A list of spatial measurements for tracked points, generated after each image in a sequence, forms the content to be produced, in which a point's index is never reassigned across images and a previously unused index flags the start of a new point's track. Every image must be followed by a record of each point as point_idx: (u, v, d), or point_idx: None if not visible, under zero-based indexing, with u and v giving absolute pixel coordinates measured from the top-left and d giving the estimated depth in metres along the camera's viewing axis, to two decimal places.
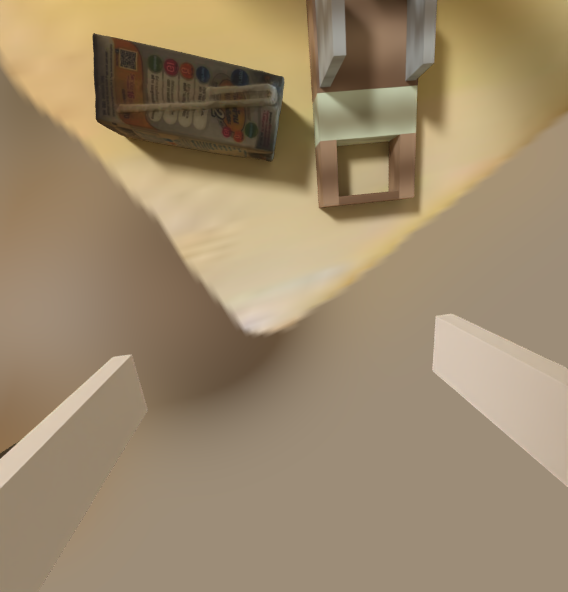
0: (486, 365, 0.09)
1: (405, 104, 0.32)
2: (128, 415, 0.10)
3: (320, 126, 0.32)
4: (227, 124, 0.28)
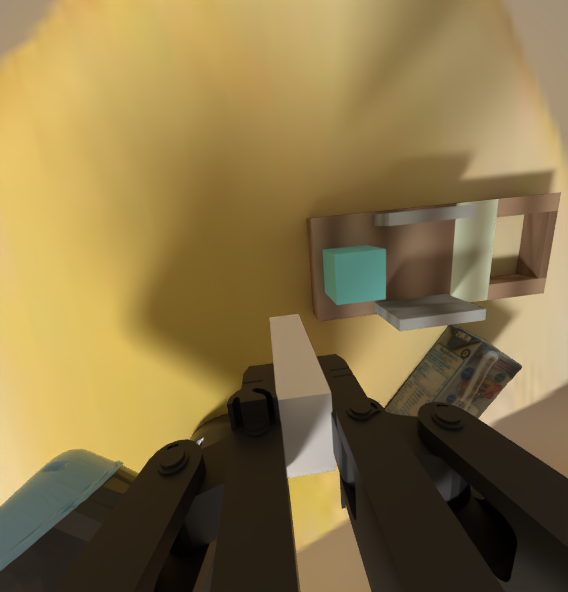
0: None
1: None
2: None
3: (475, 300, 0.33)
4: (485, 392, 0.34)
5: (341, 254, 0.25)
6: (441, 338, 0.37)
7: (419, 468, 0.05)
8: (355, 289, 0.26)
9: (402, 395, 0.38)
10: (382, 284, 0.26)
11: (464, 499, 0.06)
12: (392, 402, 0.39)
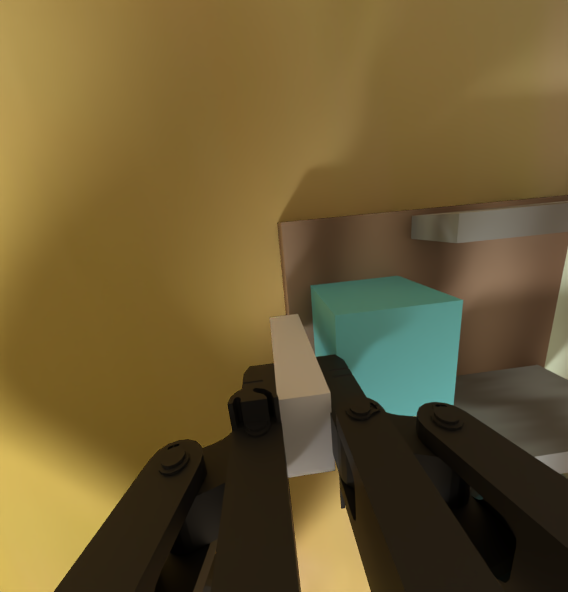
0: None
1: None
2: None
3: None
4: None
5: (352, 313, 0.10)
6: None
7: (418, 468, 0.05)
8: (384, 393, 0.11)
9: None
10: (447, 378, 0.11)
11: (463, 499, 0.06)
12: None
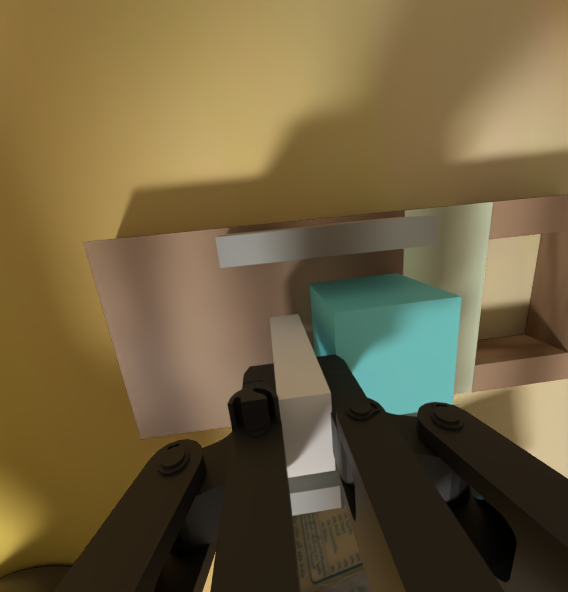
0: None
1: None
2: None
3: None
4: None
5: (351, 311, 0.10)
6: None
7: (418, 468, 0.05)
8: (383, 390, 0.11)
9: None
10: (446, 375, 0.11)
11: (464, 499, 0.06)
12: None
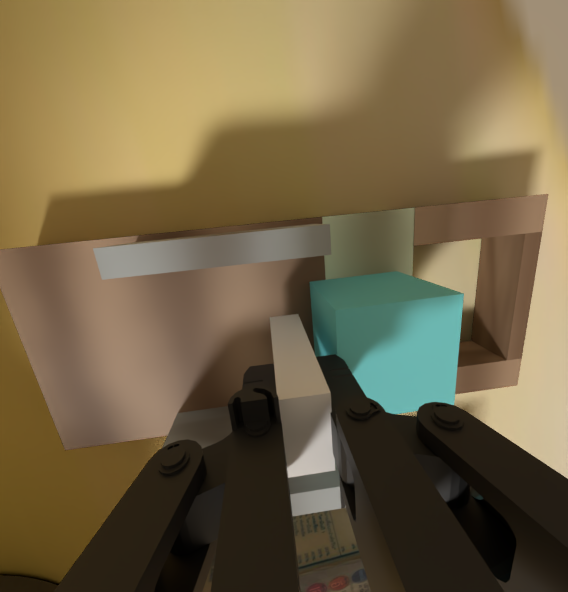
0: None
1: (357, 239, 0.14)
2: None
3: None
4: None
5: (353, 308, 0.10)
6: None
7: (418, 468, 0.05)
8: (385, 388, 0.11)
9: None
10: (448, 373, 0.11)
11: (463, 499, 0.06)
12: None
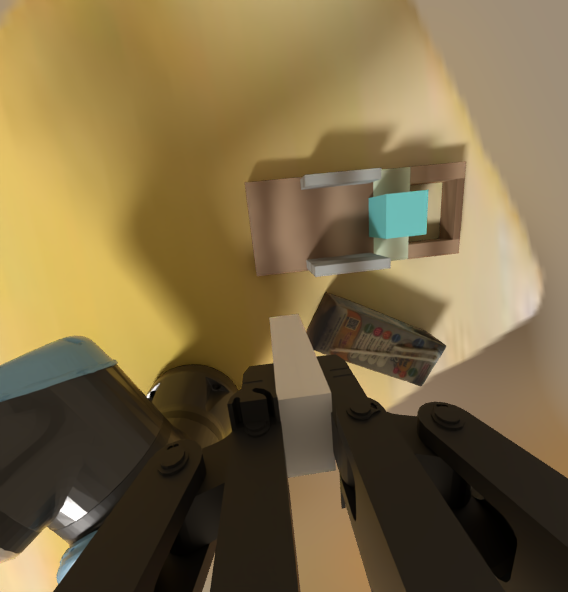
0: None
1: (386, 180, 0.35)
2: None
3: (397, 259, 0.37)
4: (398, 366, 0.39)
5: (391, 194, 0.30)
6: (413, 326, 0.43)
7: (419, 468, 0.05)
8: (401, 225, 0.31)
9: (364, 307, 0.41)
10: (424, 220, 0.31)
11: (464, 499, 0.06)
12: (352, 302, 0.41)
